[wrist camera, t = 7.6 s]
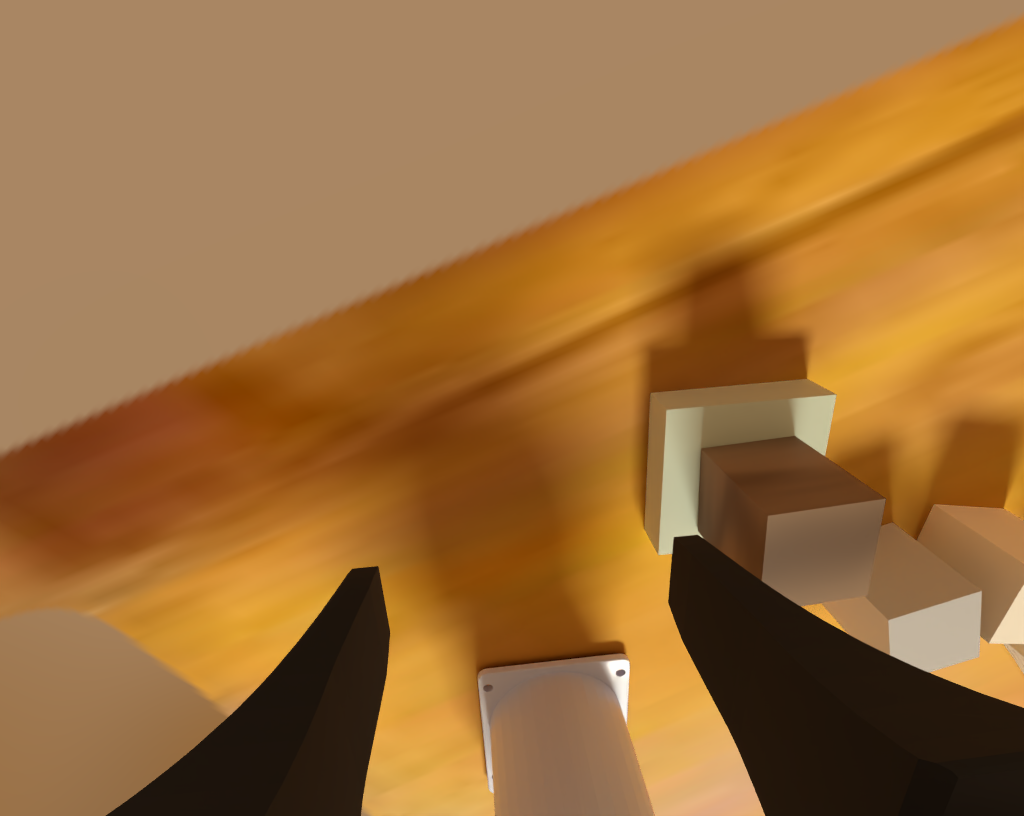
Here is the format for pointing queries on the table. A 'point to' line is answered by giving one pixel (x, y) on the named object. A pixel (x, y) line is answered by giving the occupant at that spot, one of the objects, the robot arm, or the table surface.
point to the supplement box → (1017, 654)
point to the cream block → (984, 562)
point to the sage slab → (719, 440)
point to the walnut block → (790, 518)
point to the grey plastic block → (914, 606)
